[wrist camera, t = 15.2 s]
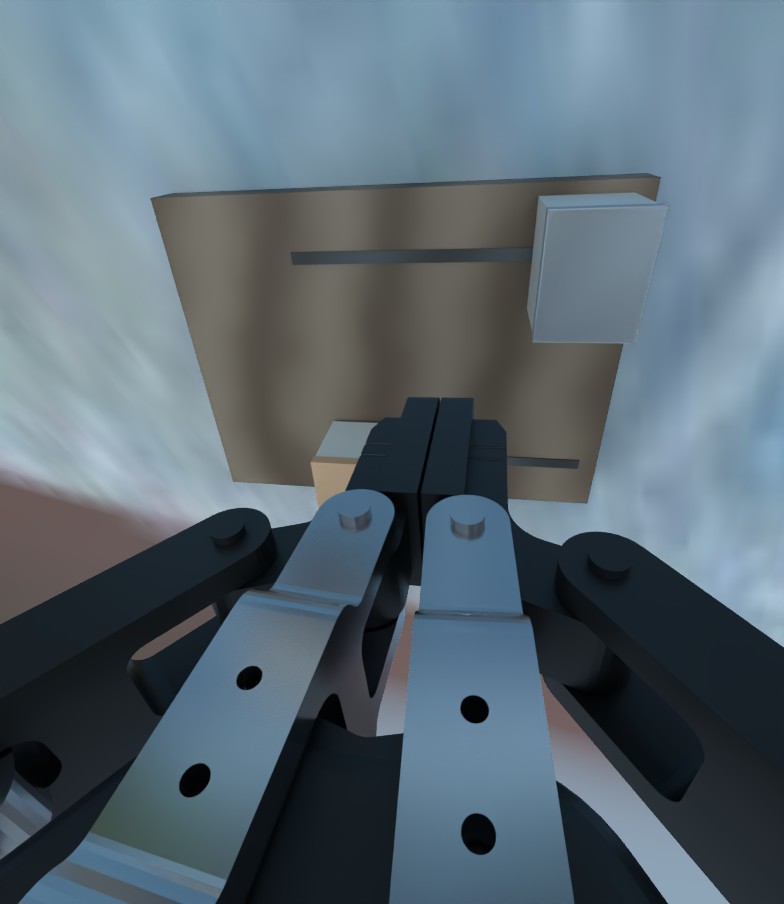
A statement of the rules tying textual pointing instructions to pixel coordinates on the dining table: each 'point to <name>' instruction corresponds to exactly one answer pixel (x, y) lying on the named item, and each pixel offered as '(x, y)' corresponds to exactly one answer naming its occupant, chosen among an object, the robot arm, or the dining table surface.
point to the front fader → (592, 266)
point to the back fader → (338, 457)
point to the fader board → (385, 320)
